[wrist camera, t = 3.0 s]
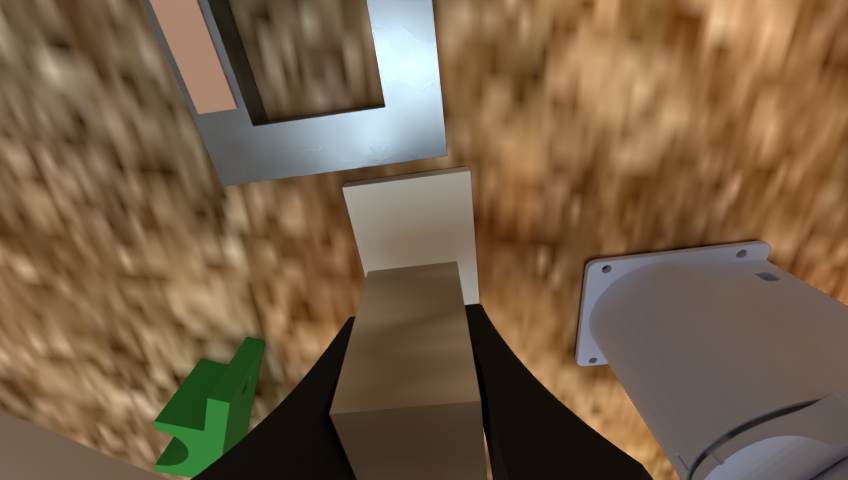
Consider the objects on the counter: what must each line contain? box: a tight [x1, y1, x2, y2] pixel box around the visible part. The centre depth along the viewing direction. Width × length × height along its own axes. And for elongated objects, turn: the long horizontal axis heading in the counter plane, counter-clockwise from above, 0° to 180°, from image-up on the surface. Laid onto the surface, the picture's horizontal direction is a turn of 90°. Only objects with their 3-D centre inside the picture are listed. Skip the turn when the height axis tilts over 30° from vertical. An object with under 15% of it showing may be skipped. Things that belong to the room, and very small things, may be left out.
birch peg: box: [329, 261, 487, 480], centre depth 11 cm, size 4×4×6 cm
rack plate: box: [142, 0, 447, 186], centre depth 13 cm, size 10×10×2 cm
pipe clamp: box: [154, 337, 265, 478], centre depth 21 cm, size 11×4×5 cm, turn 160°
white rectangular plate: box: [342, 166, 479, 305], centre depth 18 cm, size 6×8×1 cm
